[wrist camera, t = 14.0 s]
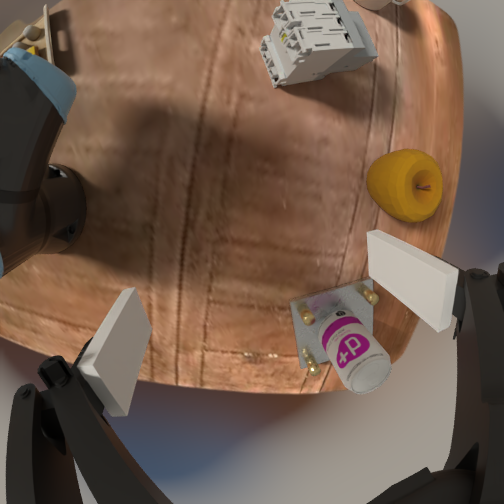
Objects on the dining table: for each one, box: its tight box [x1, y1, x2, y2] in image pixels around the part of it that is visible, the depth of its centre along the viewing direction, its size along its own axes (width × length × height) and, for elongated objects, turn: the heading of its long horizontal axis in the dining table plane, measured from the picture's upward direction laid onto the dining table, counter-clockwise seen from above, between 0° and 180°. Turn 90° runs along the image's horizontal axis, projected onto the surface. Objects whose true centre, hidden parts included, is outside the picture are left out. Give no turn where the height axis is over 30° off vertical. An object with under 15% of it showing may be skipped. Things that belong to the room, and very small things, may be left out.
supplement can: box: [317, 310, 392, 394], centre depth 42 cm, size 8×8×15 cm
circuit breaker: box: [259, 0, 378, 88], centre depth 29 cm, size 8×14×15 cm, turn 108°
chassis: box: [289, 276, 379, 376], centre depth 48 cm, size 16×16×5 cm
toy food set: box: [0, 4, 55, 65], centre depth 25 cm, size 25×18×8 cm
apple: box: [366, 149, 443, 223], centre depth 37 cm, size 11×11×13 cm
